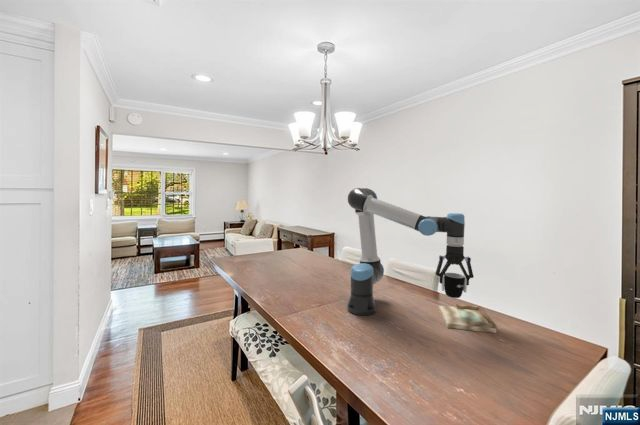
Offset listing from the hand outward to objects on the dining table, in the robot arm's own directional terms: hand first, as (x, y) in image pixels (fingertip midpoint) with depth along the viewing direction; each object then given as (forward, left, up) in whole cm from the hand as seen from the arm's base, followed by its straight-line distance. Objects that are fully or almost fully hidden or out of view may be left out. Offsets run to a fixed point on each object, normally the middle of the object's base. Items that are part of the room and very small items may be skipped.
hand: (453, 290), depth 133 cm
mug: (+1, 0, -2) cm, 2 cm away
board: (+5, 0, -14) cm, 15 cm away
